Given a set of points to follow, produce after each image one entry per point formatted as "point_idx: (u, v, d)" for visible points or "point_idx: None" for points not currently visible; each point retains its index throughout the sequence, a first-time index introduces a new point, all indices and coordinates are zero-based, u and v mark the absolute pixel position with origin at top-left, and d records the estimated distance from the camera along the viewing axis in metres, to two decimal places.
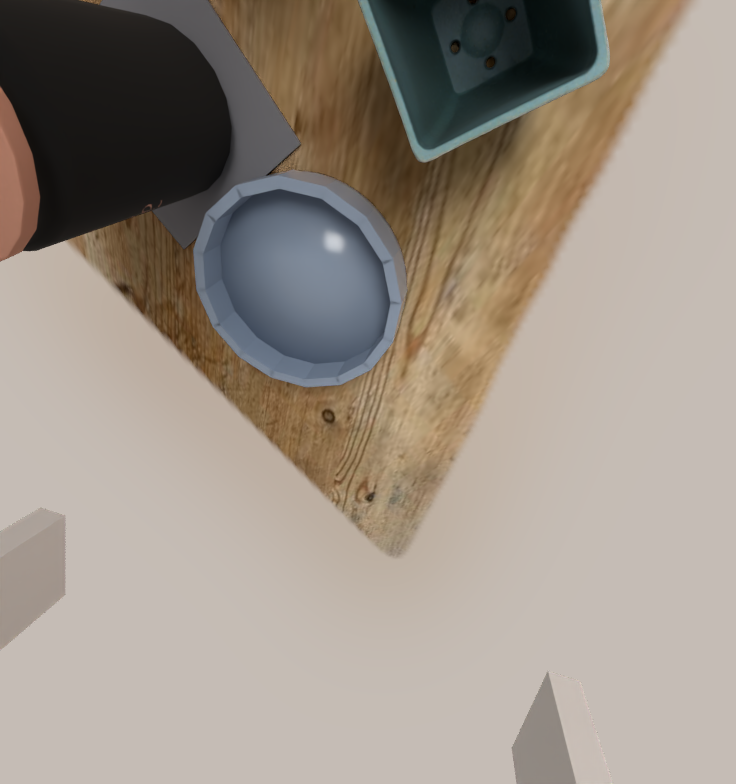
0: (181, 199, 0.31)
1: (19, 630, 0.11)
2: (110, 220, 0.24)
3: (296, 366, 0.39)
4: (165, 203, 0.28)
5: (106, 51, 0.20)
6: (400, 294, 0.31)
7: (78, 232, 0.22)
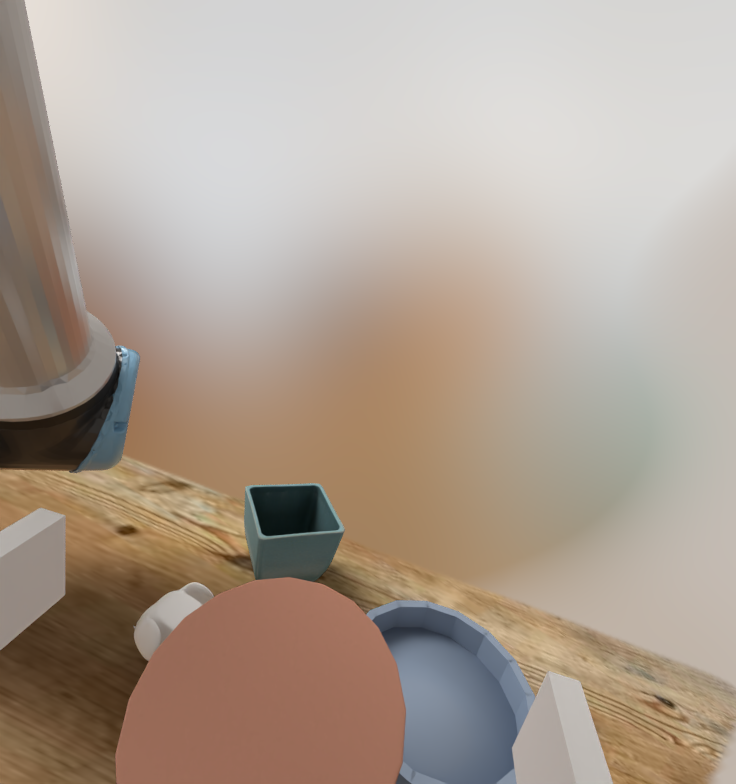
0: None
1: (19, 630, 0.11)
2: None
3: (521, 721, 0.36)
4: None
5: None
6: None
7: None
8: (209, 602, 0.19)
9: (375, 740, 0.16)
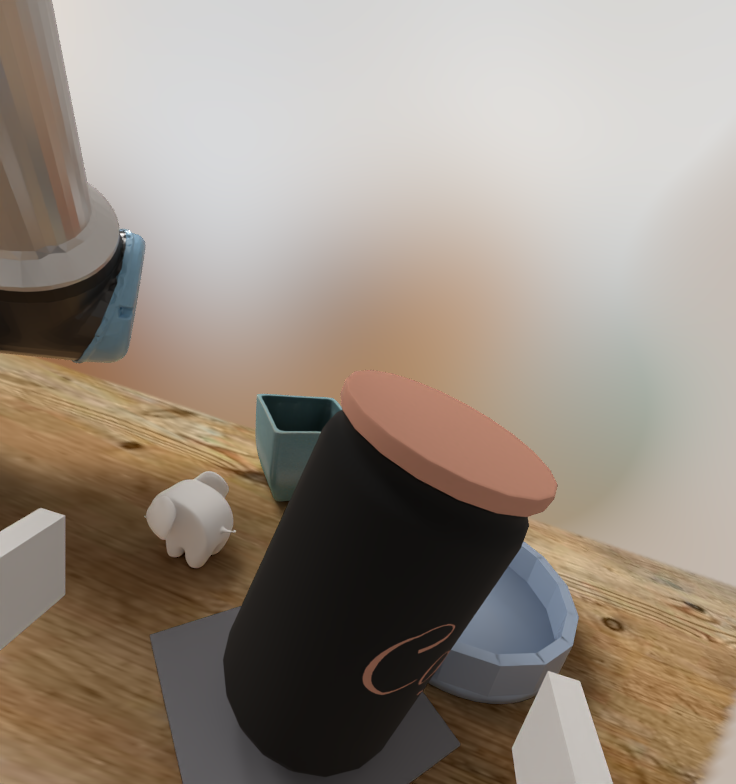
0: None
1: (18, 630, 0.11)
2: None
3: (554, 610, 0.35)
4: None
5: None
6: None
7: None
8: None
9: (534, 469, 0.19)
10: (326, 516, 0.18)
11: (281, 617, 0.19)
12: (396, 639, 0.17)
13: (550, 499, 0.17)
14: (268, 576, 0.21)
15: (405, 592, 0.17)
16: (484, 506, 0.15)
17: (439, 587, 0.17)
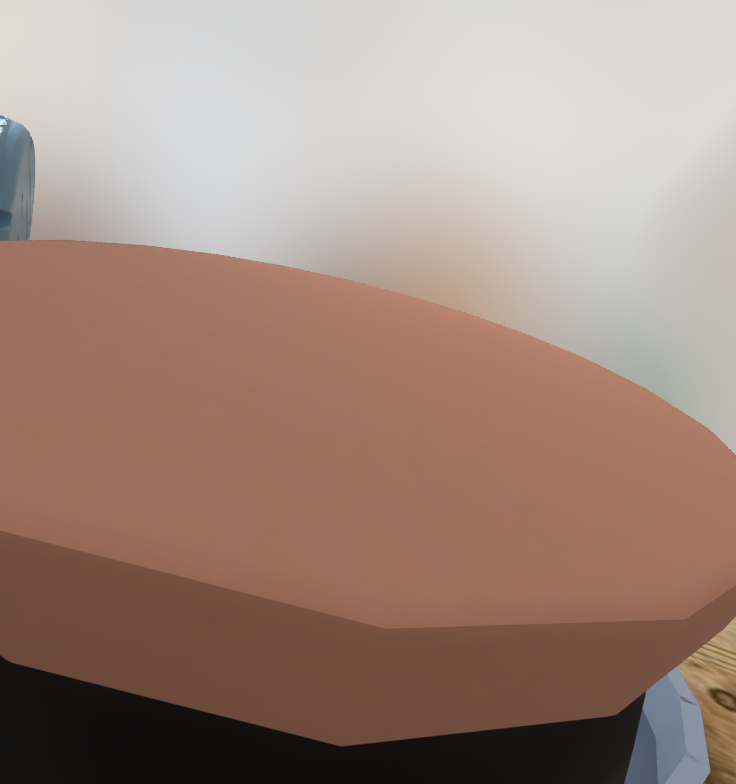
0: None
1: None
2: None
3: (650, 687, 0.22)
4: None
5: None
6: None
7: None
8: (263, 262, 0.11)
9: (650, 431, 0.05)
10: None
11: None
12: None
13: None
14: None
15: None
16: (212, 707, 0.02)
17: None
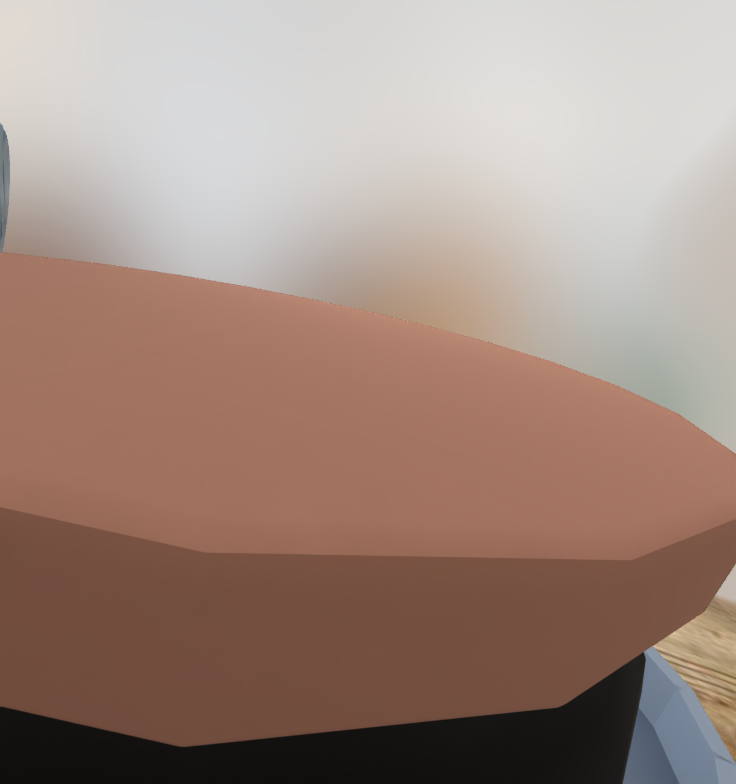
0: None
1: None
2: None
3: (677, 737, 0.20)
4: None
5: None
6: None
7: None
8: (227, 283, 0.10)
9: (615, 412, 0.05)
10: None
11: None
12: None
13: (734, 535, 0.02)
14: None
15: None
16: None
17: None
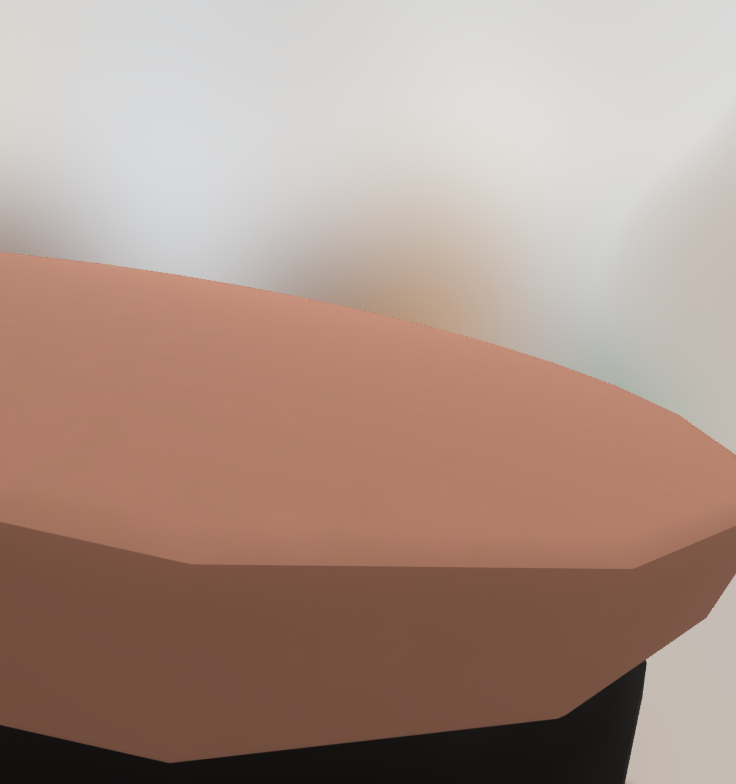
0: None
1: None
2: None
3: None
4: None
5: None
6: None
7: None
8: None
9: (615, 413, 0.05)
10: None
11: None
12: None
13: None
14: None
15: None
16: None
17: None
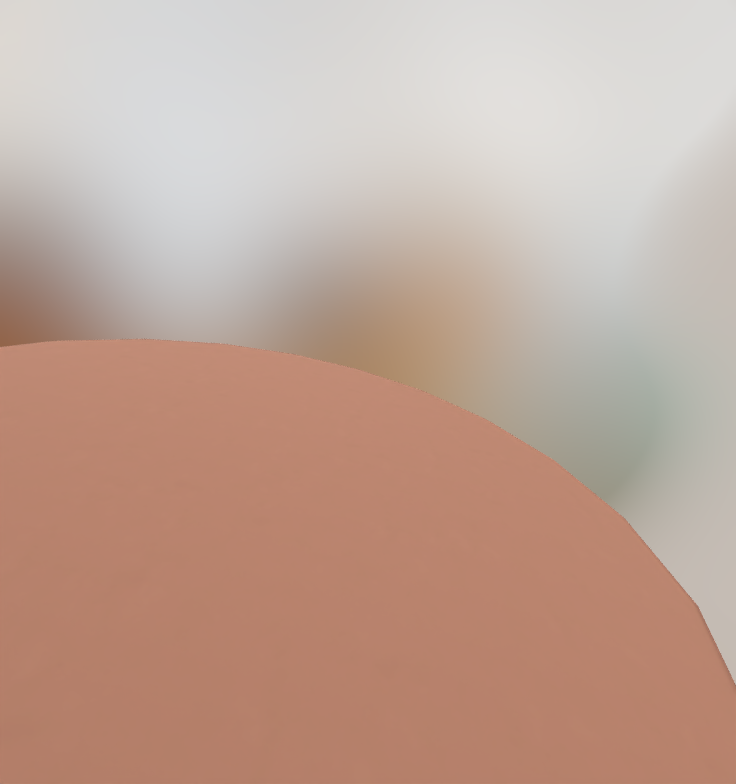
0: None
1: None
2: None
3: None
4: None
5: None
6: None
7: None
8: (199, 342, 0.10)
9: (615, 639, 0.04)
10: None
11: None
12: None
13: None
14: None
15: None
16: None
17: None
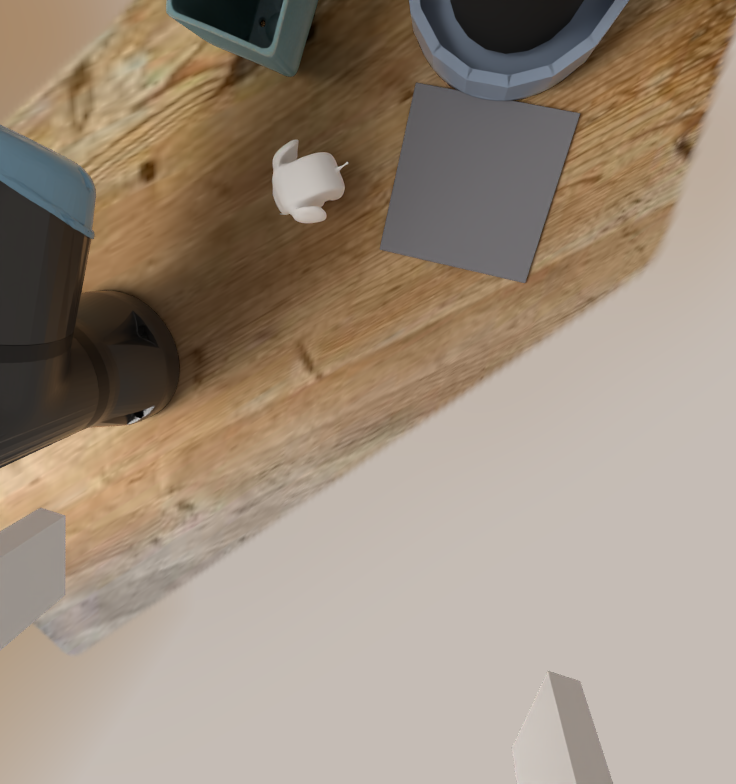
0: None
1: (19, 630, 0.11)
2: None
3: None
4: None
5: None
6: None
7: None
8: None
9: None
10: None
11: (509, 4, 0.28)
12: None
13: None
14: None
15: None
16: None
17: None
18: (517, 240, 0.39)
